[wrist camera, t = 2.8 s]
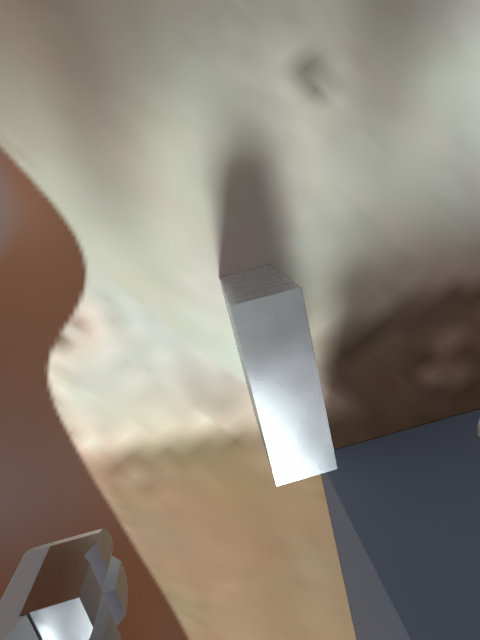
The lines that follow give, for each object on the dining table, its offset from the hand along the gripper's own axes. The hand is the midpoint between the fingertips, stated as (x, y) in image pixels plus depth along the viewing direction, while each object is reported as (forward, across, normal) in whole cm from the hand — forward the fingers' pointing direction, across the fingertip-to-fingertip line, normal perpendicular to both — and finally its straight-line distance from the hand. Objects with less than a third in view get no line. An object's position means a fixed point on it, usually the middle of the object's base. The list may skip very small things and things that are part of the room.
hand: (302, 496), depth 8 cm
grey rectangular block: (+8, -1, -1) cm, 8 cm away
